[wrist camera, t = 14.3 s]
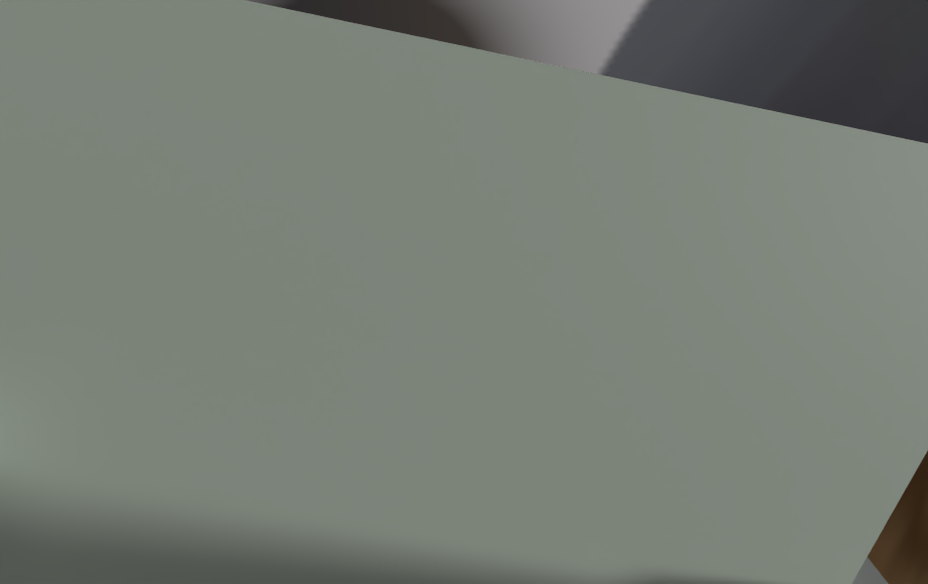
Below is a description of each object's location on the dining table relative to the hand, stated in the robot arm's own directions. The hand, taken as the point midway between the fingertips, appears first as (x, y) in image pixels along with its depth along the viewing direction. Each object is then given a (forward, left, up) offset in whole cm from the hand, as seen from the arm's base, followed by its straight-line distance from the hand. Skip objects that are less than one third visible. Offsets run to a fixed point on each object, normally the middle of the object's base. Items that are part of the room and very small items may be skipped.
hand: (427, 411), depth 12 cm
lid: (0, 0, +2) cm, 2 cm away
